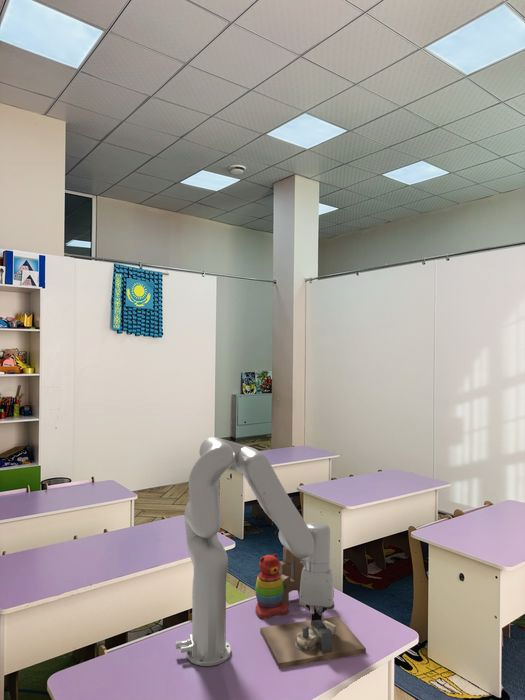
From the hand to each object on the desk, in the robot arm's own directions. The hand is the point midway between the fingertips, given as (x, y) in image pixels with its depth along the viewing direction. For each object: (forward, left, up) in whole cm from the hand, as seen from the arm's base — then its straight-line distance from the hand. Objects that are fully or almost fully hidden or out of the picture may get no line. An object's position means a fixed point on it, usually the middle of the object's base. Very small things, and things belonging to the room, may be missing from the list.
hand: (316, 625), depth 151 cm
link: (-3, -5, 0) cm, 6 cm away
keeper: (-2, -8, -1) cm, 8 cm away
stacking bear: (-9, +18, -3) cm, 20 cm away
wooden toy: (+1, +22, -3) cm, 22 cm away
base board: (-3, -4, -2) cm, 6 cm away
